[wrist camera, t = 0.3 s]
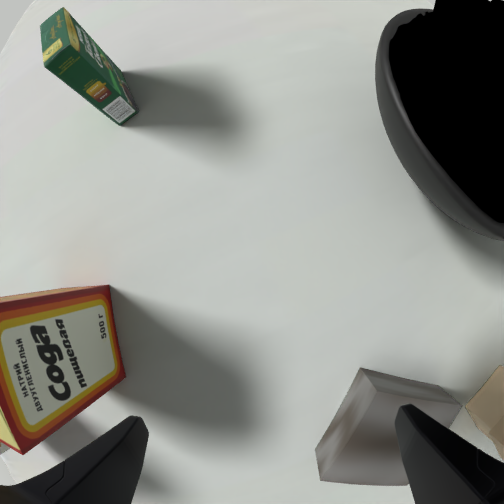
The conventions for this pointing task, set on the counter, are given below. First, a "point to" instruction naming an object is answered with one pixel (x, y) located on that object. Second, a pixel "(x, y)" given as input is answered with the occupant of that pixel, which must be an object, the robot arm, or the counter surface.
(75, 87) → the coffee box
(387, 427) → the block
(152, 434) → the counter surface
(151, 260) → the counter surface
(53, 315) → the baking soda box
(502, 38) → the coal bowl
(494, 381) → the box
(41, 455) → the counter surface
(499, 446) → the box lid
